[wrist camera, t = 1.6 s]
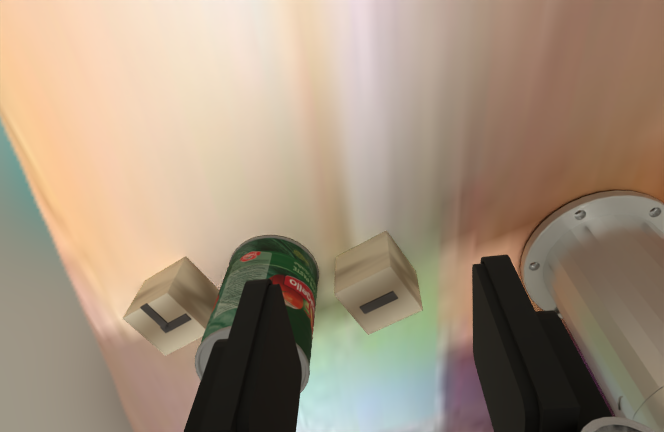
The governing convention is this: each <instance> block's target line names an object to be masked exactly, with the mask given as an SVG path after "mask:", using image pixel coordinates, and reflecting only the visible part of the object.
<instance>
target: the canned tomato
mask: <svg viewBox="0 0 664 432" xmlns="http://www.w3.org/2000/svg"><path fill="white" fill-rule="evenodd" d="M260 279H271V281H272V283H273V284H280V286H281V289H282V293H283V297H284V301H285V304H286V308H287V312H288V316H289V320H290V323H291V327H292V331H293V335H294V339H295V342H296V346H297V350H298V354H299V358H300V361H301V367H302V382H301V390H300V393H301V392H302V391H303V390H304V388H305V386H306V385H307V383H308V379H309V375H310V371H309V365H310V358H311V348H312V339H313V337H312V335H313V326H314V318H315V306H316V297H317V284H318V279H319V271H318V267H317V263H316V261H315V259H314V257H313V256H312V255H311V253H310V252H309V251H308V250H307V249H306V248H305V247H303V246H302V245H301V244H299V243H297V242H296V241H294V240H292V239H289V238H286V237H282V236H276V235H264V236H258V237H255V238H252V239H249V240H247V241H246V242H244V243H242V244H241V245H240V246H239V247H238V248H237V249H236V250H235V252H234V253H233V255H232V257H231V260H230V263H229V267H228V269H227V272H226V275H225V277H224V280H223V283H222V286H221V288H220V291H219V294H218V297H217V299H216V302H215V305H214V307H213V310H212V313H211V316H210V318H209V321H208V324H207V327H206V329H205V332H204V335H203V338H202V342H201V344H200V346H199V347H198V350H197V353H196V356H195V367H196V372H197V374H198V376H199V378H200V380H201V379H202V376H203V373H204V370H205V368H206V365H207V362H208V359H209V356H210V353H211V350H212V347H213V345H214V343H215V342H216V341H217V340H218V339H228V336H229V333H230V330H231V327H232V323H233V320H234V317H235V314H236V310H237V307H238V304H239V301H240V298H241V294H242V291H243V288H244V285H245V282H246V281H250V280H260Z"/></svg>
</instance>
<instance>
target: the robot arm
mask: <svg viewBox="0 0 664 432" xmlns="http://www.w3.org/2000/svg"><path fill="white" fill-rule="evenodd" d="M520 270H521V276H522V281H523V283H524V286H525V288H526V290H527V292H528V294H529V296H530V297H531V299H532V300H533V301H534V302H535V303H536V304H537V305H538V306H539V307H540V308H541V309H542V310H544V311H538V312H535V310H534V308H533V306H532V304H531V302H530V300H529V298H528V295H527V293H526V291H525V289H524V287H523V285H522V283H521V281H520V279H519V277H518V274H517V272H516V270H515V268H514V266H513V264H512V262H511V260H510V258H509V256H508V255H499V256H489V257H482V258H481V264H473V267H472V281H473V353H474V360H475V365H476V368H477V372H478V376H479V379H480V383H481V386H482V390H483V393H484V397H485V401H486V404H487V408H488V411H489V415H490V418H491V422H492V426H493V429H494V432H664V203H663V202H661V201H660V200H658V199H656V198H654V197H652V196H650V195H647V194H643V193H639V192H634V191H619V190H616V191H607V192H600V193H596V194H592V195H589V196H585V197H582V198H580V199H578V200H575V201H573V202H571V203H568V204H567V205H565V206H563V207H562V208H560V209H559V210H557V211H555V212H554V213H553V214H552V215H550V216H549V217H548V218H547V219H546V220H544V221H543V222H542V223H541V224H540V226H539V227H538V228H537V229H536V230H535V231H534V233H533V234H532V235H531V237H530V239H529V241H528V242H527V244H526V246H525V249H524V252H523V255H522V258H521V268H520ZM560 318H561V319H564V321H565V323H566V325H567V327H568V328H569V330H570V332H571V334H572V336H573V338H574V340H575V341H576V343H577V345H578V347H579V349H580V351H581V353H582V354H583V356H584V358H585V360H586V362H587V364H588V365H589V367H590V369H591V371H592V373H593V375H594V377H595V378H596V380H597V382H598V384H599V386H600V388H601V390H602V391H603V393H604V395H605V397H606V399H607V401H608V403H609V404H610V406H611V408H612V410H613V412H614V414H615V415H616V417H612V415H611V413H610V411H609V409H608V407H607V406H606V404H605V402H604V400H603V398H602V396H601V394H600V392H599V391H598V389H597V387H596V385H595V383H594V381H593V379H592V377H591V375H590V374H589V372H588V370H587V368H586V366H585V364H584V362H583V360H582V359H581V357H580V355H579V353H578V351H577V349H576V347H575V345H574V344H573V342H572V340H571V338H570V336H569V334H568V332H567V330H566V329H565V327H564V325H563V323H562V321H561V319H560ZM301 382H302V367H301V361H300V358H299V354H298V350H297V346H296V342H295V339H294V335H293V331H292V327H291V323H290V320H289V316H288V312H287V308H286V304H285V301H284V297H283V293H282V289H281V286H280V284H273V283H272V281H271V279H260V280H250V281H246V282H245V285H244V288H243V291H242V294H241V298H240V301H239V304H238V307H237V310H236V314H235V317H234V320H233V323H232V327H231V330H230V333H229V336H228V339H218V340H217V341H216V342H215V343H214V345H213V347H212V350H211V353H210V356H209V359H208V362H207V365H206V368H205V370H204V373H203V376H202V379H201V382H200V385H199V388H198V391H197V394H196V397H195V400H194V403H193V406H192V409H191V412H190V415H189V418H188V420H187V423H186V426H185V429H184V432H296V425H297V416H298V408H299V399H300V390H301Z"/></svg>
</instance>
